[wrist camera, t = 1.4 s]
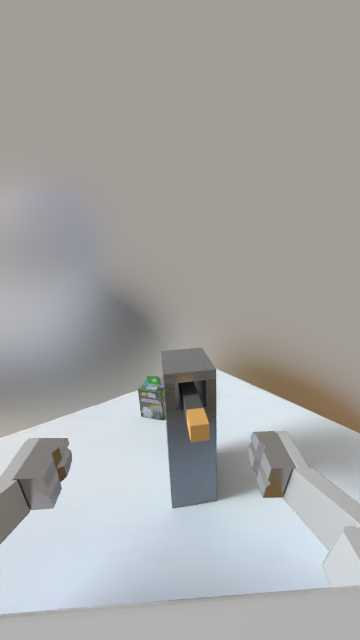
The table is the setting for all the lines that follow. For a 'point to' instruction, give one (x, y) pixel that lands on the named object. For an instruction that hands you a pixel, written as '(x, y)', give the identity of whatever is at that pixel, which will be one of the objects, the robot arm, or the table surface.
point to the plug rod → (194, 412)
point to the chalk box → (152, 398)
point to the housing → (185, 456)
